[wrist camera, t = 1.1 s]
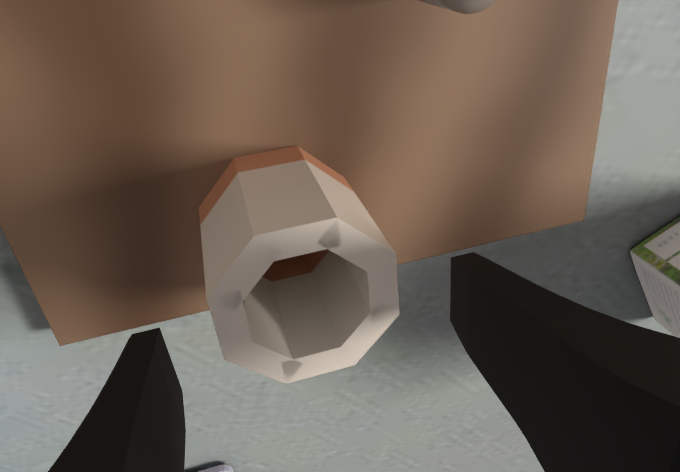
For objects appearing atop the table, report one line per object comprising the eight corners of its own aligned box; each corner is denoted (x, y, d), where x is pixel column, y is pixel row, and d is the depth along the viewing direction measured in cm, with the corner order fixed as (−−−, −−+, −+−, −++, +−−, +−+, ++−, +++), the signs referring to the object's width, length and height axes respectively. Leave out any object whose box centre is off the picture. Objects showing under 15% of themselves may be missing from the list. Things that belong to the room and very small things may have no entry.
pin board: (65, 327, 19) (30, 452, 14) (-169, -162, 12) (-383, -216, 7) (568, 209, 22) (668, 280, 18) (628, -227, 15) (821, -292, 11)
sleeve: (221, 292, 19) (235, 397, 15) (187, 166, 16) (191, 249, 12) (353, 261, 20) (401, 352, 15) (340, 136, 17) (393, 205, 13)
